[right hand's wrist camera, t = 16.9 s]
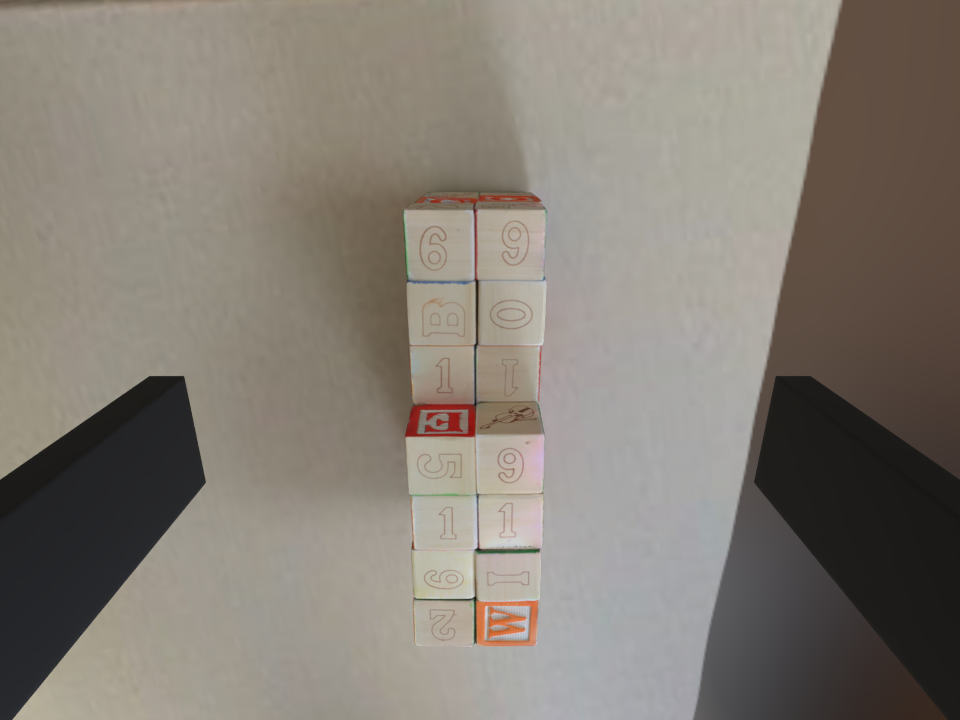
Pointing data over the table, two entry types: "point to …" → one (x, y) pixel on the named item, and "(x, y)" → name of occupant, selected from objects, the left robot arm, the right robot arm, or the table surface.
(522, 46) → the table surface
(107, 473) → the right robot arm
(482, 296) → the stack of blocks
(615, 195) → the table surface
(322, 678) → the table surface
